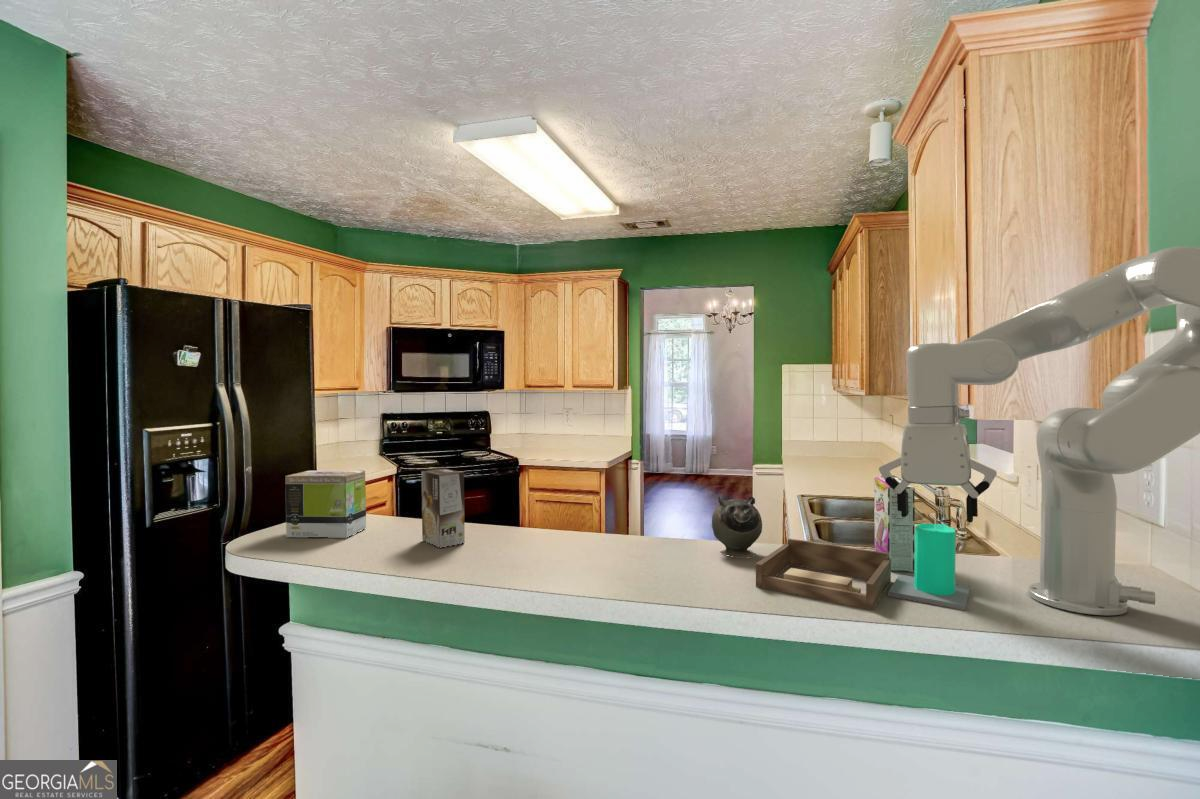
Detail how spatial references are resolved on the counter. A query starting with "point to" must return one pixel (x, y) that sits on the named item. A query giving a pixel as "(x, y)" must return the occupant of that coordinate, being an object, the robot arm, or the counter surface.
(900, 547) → the candy bar box
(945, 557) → the candle
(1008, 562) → the counter surface
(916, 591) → the mat
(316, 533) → the tea box
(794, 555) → the wooden tray
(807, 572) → the offcut stack
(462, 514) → the coffee box
